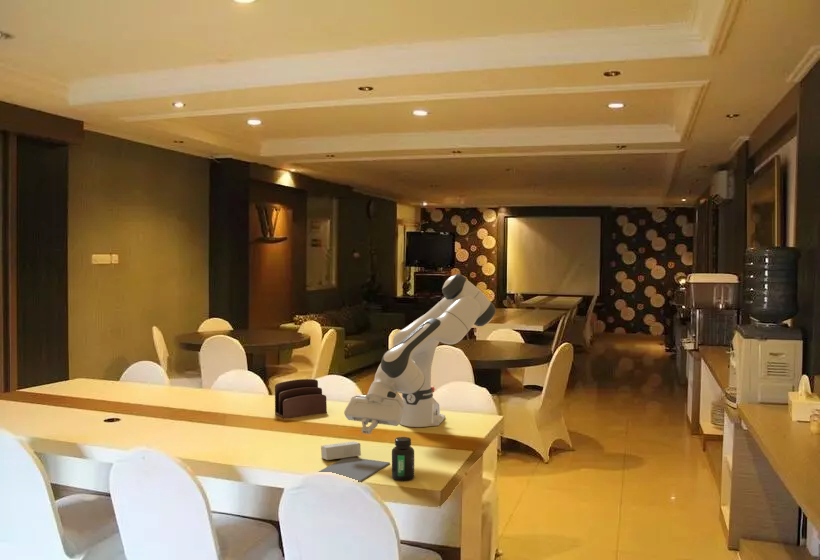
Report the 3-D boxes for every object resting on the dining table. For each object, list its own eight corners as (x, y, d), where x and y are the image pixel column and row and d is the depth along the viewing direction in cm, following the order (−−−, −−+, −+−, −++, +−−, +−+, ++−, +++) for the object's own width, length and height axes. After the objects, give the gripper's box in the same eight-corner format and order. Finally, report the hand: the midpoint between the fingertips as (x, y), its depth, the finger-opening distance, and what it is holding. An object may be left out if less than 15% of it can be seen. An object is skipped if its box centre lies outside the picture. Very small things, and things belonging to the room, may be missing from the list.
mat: (346, 458, 233) (346, 456, 233) (389, 463, 226) (389, 462, 226) (314, 475, 215) (314, 473, 215) (359, 482, 208) (359, 480, 208)
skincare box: (355, 453, 238) (321, 458, 233) (354, 441, 238) (320, 445, 234) (361, 456, 233) (326, 460, 228) (360, 443, 233) (326, 447, 228)
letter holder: (274, 414, 298) (274, 381, 297) (317, 408, 308) (317, 377, 307) (283, 419, 289) (282, 385, 289) (327, 413, 299) (326, 380, 299)
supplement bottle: (403, 483, 207) (403, 443, 207) (387, 478, 212) (387, 439, 211) (419, 477, 212) (418, 438, 212) (402, 472, 217) (402, 434, 216)
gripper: (349, 389, 241) (335, 423, 232) (403, 395, 232) (389, 431, 223) (356, 399, 245) (342, 434, 236) (409, 405, 236) (396, 441, 228)
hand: (365, 432), depth 230 cm, fingers closed
